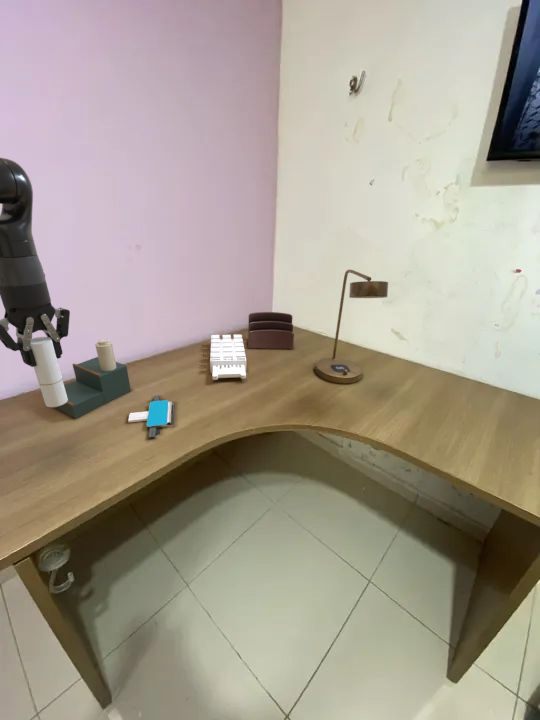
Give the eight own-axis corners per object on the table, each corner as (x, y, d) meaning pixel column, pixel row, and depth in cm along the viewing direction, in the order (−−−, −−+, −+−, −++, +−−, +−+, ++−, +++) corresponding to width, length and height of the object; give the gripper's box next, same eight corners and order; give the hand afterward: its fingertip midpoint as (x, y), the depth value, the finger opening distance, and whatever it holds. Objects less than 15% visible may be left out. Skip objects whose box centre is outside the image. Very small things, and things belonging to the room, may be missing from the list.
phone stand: (134, 399, 95) (133, 395, 94) (174, 396, 98) (174, 391, 97) (123, 442, 77) (122, 437, 77) (173, 436, 80) (172, 431, 80)
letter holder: (248, 340, 144) (248, 310, 138) (290, 341, 145) (292, 312, 139) (247, 348, 135) (248, 317, 129) (293, 349, 136) (295, 318, 130)
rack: (49, 404, 91) (40, 375, 87) (105, 379, 105) (99, 354, 101) (75, 418, 85) (67, 388, 81) (130, 390, 100) (126, 364, 95)
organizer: (241, 334, 137) (248, 370, 105) (241, 344, 139) (248, 383, 107) (211, 334, 135) (209, 371, 103) (211, 345, 137) (210, 384, 105)
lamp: (332, 400, 100) (350, 280, 83) (310, 363, 124) (321, 265, 108) (381, 398, 102) (408, 281, 86) (351, 362, 126) (367, 266, 110)
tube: (70, 402, 70) (54, 341, 64) (48, 409, 67) (29, 346, 61) (64, 394, 73) (48, 335, 67) (43, 401, 70) (23, 339, 64)
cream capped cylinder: (97, 368, 93) (91, 341, 89) (110, 363, 97) (105, 336, 93) (106, 372, 91) (100, 344, 87) (119, 367, 95) (114, 339, 91)
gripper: (50, 272, 66) (68, 346, 73) (-36, 282, 54) (-4, 369, 62) (71, 277, 63) (88, 354, 70) (-16, 289, 51) (15, 379, 59)
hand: (44, 361), depth 66 cm, fingers closed on tube, 4 cm apart
